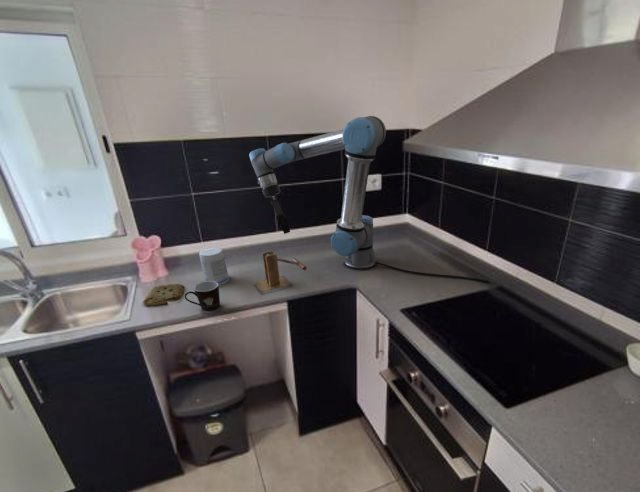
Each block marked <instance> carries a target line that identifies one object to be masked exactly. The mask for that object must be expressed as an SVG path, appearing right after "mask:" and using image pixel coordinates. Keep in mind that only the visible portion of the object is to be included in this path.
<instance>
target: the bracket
mask: <svg viewBox="0 0 640 492" xmlns="http://www.w3.org/2000/svg"><path fill="white" fill-rule="evenodd" d="M266 254H272V255H267V256H266ZM261 256H262V263H263V270H264V277H265V278H264V279H263V280H259V281H255V282H254V284H255V286H256V287H257V288H258V289H259V290H260V291H261V292H266V291H267V292H268V291H270V290H271V291H272V290H275V289H279V288H283V287H286V286H291V285H293V283H292V282H291V281H289V280H288V279H287V278H286V277H285V276H284V275H280V273H279V272H280V271H279V264H278V263H279V261H277V258H278V255H277V253H274V251H273V250H269V251H264V252H261ZM265 257H266V259H265Z"/></svg>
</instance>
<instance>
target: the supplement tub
mask: <svg viewBox="0 0 640 492" xmlns="http://www.w3.org/2000/svg"><path fill="white" fill-rule="evenodd" d="M198 255H199V260H200V264H201V268H202V272H203V275H204V280H205V282H206V281H215V282H217V283H218V284H219V285H220V286H221V285H223V284H226V283H227V282H229V280H230V277H229V273H228V268H227V263H226V259H225V254H224V251H223V248H221V247H208V248H205V249H201V250H200V251H199V254H198Z"/></svg>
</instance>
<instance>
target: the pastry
mask: <svg viewBox="0 0 640 492" xmlns="http://www.w3.org/2000/svg"><path fill="white" fill-rule="evenodd" d="M184 287H185V285H183V284H180V283H170V284H162V285H157V286H154V287H152V288H151V289H150V291H149V292H148V295H147V296H146V297H145V299H144V300H143V303H142V304H143V305H144V306H149V307H150V306H160V305H165V304H167V305H168V302H177V301H179V300H180V299H181V298H182V295H184Z"/></svg>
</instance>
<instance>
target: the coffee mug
mask: <svg viewBox="0 0 640 492" xmlns="http://www.w3.org/2000/svg"><path fill="white" fill-rule="evenodd" d="M193 290H194V291H187V292H186V293H185V294H184V299H185V300H186V301H187V302H189V303H191V304H193V305H196V306H199V307H200V308H201V310H202V311H203V312H213V311H216V310H218V309H219V308H220V307H221V301H220V287H219V284H218V283H217V282H215V281H206V280H205V281H202V282H199V283H197V284H196V285H194V286H193ZM190 294H192V295H194V296H195V297H196V298H197V301H198V302H196V301H193V300H190V299H188V298H187V296H188V295H190Z"/></svg>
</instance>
